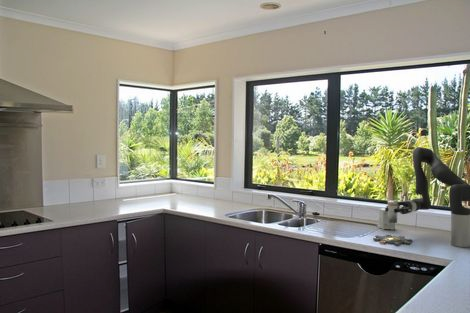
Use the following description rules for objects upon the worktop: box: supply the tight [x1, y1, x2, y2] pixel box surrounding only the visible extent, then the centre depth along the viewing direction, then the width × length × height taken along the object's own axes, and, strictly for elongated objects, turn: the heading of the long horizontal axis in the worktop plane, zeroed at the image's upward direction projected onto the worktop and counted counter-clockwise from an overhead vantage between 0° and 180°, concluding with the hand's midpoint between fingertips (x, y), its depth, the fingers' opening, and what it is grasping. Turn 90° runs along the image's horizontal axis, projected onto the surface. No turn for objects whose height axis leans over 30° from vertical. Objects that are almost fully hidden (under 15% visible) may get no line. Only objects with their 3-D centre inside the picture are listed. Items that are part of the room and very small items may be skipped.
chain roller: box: [387, 200, 398, 224], centre depth 221 cm, size 5×5×12 cm
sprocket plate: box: [372, 234, 414, 247], centre depth 221 cm, size 21×21×2 cm
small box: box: [378, 207, 396, 230], centre depth 252 cm, size 8×6×13 cm
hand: (390, 210), depth 219 cm, fingers closed on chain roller, 5 cm apart
